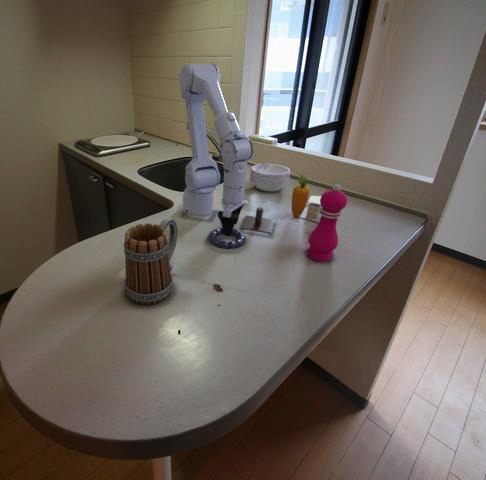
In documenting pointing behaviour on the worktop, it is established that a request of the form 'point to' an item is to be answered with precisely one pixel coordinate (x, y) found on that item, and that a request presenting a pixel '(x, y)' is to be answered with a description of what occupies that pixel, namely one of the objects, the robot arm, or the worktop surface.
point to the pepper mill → (327, 225)
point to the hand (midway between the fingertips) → (230, 229)
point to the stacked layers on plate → (312, 209)
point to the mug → (149, 261)
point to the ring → (226, 245)
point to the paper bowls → (269, 176)
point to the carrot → (300, 197)
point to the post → (258, 222)
